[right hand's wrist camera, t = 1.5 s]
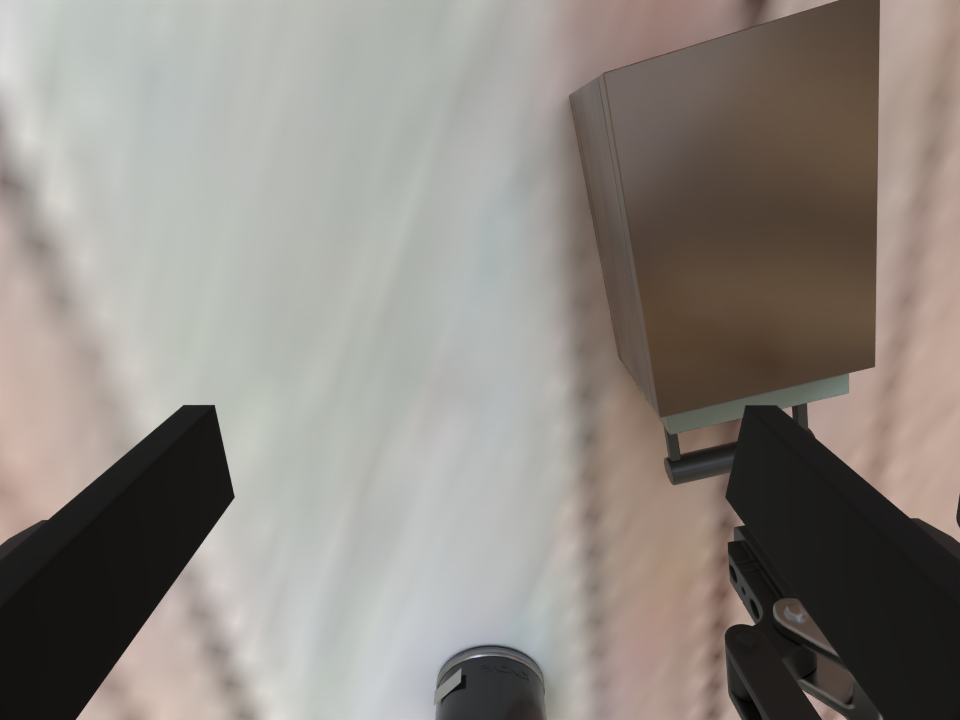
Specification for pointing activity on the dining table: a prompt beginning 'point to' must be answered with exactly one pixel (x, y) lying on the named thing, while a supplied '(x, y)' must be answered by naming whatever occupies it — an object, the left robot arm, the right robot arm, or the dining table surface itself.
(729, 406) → the drawer
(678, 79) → the cabinet
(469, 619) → the dining table surface
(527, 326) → the dining table surface
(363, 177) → the dining table surface
